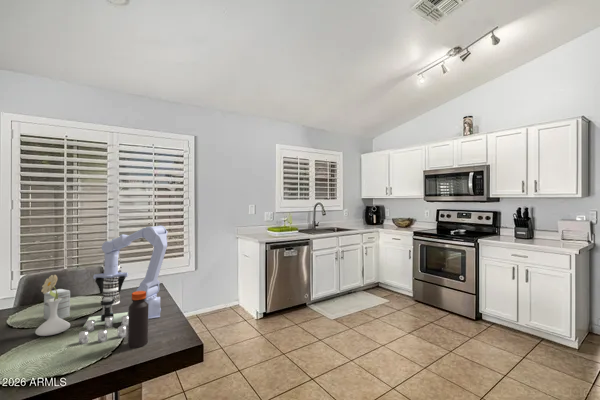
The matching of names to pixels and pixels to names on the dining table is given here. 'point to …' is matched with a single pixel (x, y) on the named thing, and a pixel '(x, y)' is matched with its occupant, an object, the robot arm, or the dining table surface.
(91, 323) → the spacer posts
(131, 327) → the bottle
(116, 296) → the decorative candle
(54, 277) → the flower in vase
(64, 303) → the supplement box
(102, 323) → the sage mat
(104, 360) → the dining table surface
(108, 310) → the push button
